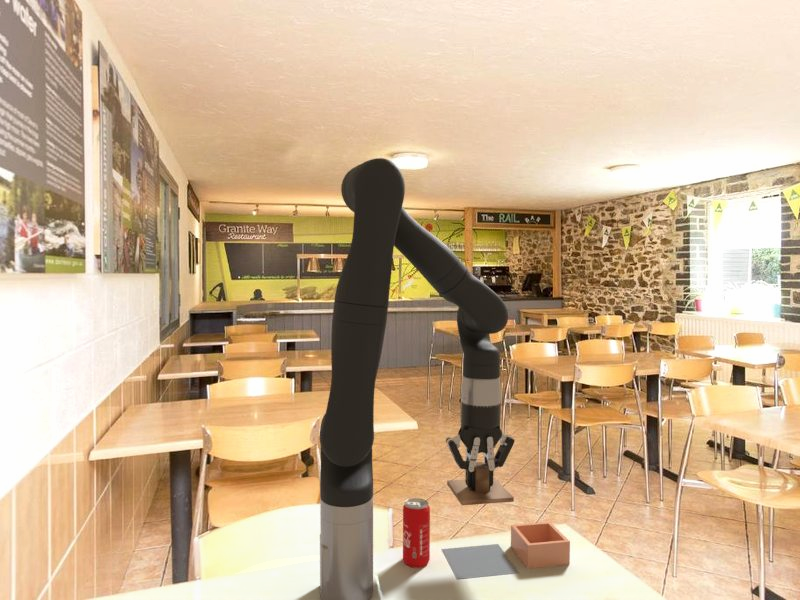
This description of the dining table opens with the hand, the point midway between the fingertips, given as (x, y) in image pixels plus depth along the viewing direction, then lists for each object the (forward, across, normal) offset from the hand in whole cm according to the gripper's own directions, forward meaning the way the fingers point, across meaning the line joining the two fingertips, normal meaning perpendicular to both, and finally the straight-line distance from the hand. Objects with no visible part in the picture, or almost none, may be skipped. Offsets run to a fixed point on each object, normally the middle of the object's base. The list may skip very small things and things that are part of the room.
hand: (479, 488), depth 105 cm
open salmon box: (+15, +13, 0) cm, 19 cm away
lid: (+1, 0, 0) cm, 1 cm away
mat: (+15, 0, 0) cm, 15 cm away
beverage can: (+15, -12, +2) cm, 19 cm away
